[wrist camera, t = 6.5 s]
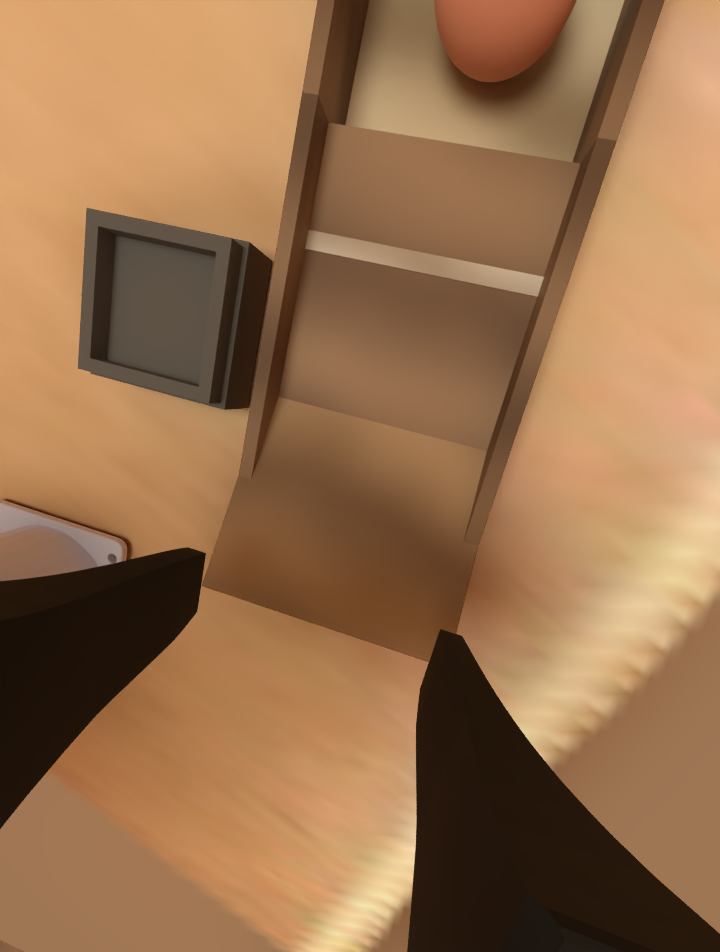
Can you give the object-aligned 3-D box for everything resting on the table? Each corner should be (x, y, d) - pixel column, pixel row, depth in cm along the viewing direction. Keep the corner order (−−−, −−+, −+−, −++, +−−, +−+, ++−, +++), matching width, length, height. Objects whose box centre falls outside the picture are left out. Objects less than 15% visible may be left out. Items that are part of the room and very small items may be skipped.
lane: (441, 605, 17) (444, 677, 13) (255, 547, 18) (200, 594, 14) (662, -65, 11) (801, -344, 7) (373, -91, 13) (343, -346, 8)
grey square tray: (248, 407, 17) (213, 410, 14) (127, 375, 18) (73, 372, 15) (272, 261, 15) (238, 232, 13) (140, 233, 16) (82, 200, 13)
